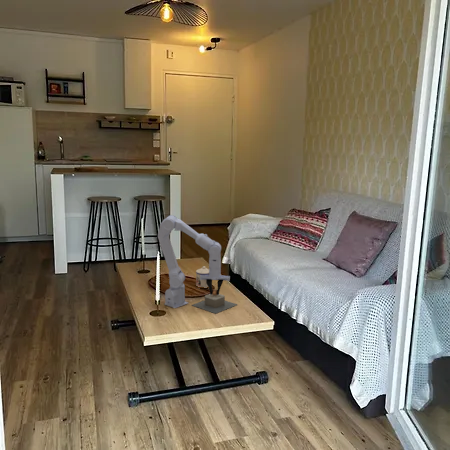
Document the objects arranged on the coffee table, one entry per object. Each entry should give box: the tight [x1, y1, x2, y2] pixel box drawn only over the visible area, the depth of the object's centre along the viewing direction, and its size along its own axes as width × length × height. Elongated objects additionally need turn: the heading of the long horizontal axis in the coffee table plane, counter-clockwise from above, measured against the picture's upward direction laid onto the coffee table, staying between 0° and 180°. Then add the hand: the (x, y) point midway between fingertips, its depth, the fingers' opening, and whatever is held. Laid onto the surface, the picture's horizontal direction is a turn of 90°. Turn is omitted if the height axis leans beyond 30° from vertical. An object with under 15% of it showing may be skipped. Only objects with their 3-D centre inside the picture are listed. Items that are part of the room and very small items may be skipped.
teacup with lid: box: [195, 266, 209, 288], centre depth 251 cm, size 12×9×12 cm
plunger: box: [212, 288, 218, 297], centre depth 224 cm, size 5×5×6 cm
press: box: [191, 293, 238, 315], centre depth 224 cm, size 16×16×5 cm
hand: (214, 294), depth 224 cm, fingers closed on plunger, 3 cm apart
